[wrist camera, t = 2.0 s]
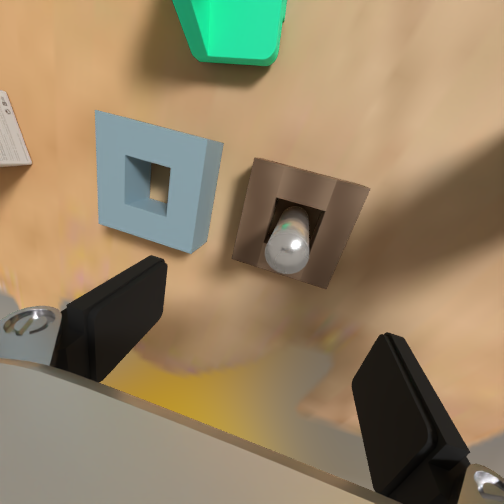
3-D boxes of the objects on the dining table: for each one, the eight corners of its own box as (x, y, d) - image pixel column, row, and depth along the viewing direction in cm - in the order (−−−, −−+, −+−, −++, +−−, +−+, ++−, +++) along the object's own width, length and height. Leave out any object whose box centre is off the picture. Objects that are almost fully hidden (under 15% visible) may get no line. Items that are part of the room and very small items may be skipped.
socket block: (223, 143, 26) (207, 139, 21) (206, 241, 30) (190, 253, 26) (127, 117, 27) (94, 109, 23) (125, 215, 32) (98, 223, 28)
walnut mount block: (362, 185, 24) (370, 188, 21) (324, 275, 28) (326, 289, 25) (261, 158, 25) (254, 157, 22) (239, 248, 30) (231, 258, 26)
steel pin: (312, 210, 26) (315, 240, 16) (303, 236, 27) (300, 279, 17) (285, 202, 26) (271, 227, 16) (277, 228, 28) (260, 266, 18)
